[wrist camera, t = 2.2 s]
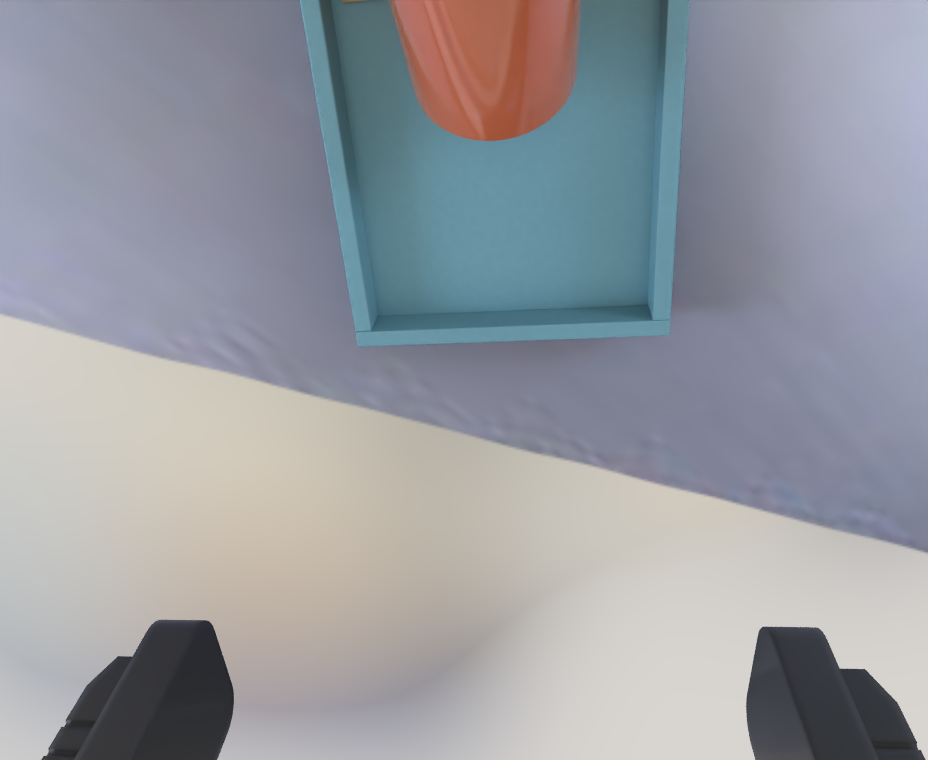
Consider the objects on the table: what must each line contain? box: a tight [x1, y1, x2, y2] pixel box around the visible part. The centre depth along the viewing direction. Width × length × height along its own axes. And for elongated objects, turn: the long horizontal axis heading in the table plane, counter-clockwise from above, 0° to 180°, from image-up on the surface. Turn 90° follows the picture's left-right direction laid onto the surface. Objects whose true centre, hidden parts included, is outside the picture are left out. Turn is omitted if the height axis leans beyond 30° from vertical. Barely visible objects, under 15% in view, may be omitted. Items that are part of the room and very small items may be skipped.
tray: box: [300, 0, 690, 347], centre depth 30 cm, size 26×15×3 cm, turn 4°
